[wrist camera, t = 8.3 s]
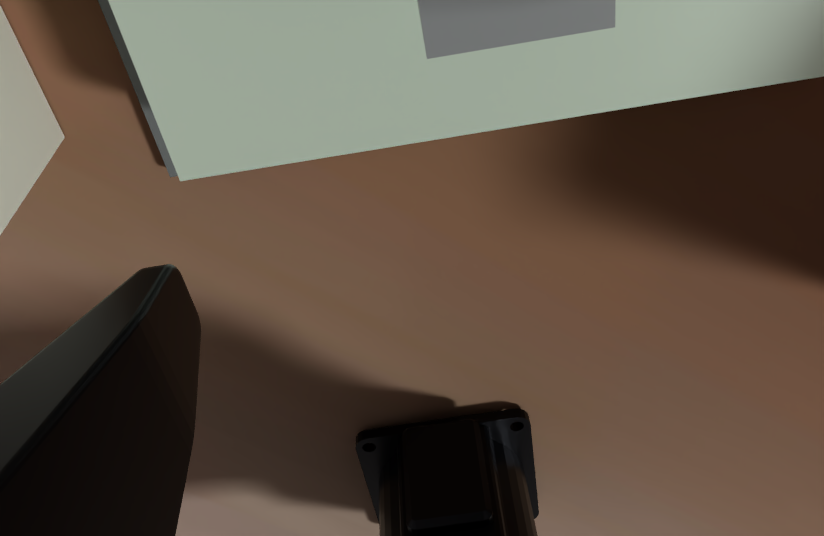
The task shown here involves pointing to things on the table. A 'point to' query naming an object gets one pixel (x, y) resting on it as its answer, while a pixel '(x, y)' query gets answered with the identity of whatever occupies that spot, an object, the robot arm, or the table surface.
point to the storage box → (21, 125)
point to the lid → (436, 67)
